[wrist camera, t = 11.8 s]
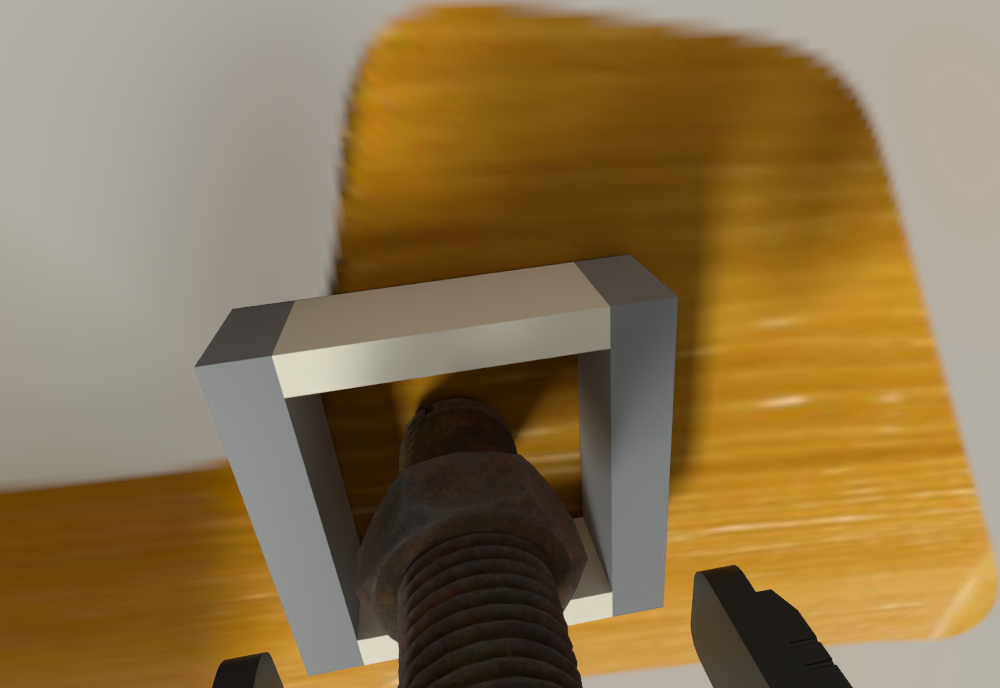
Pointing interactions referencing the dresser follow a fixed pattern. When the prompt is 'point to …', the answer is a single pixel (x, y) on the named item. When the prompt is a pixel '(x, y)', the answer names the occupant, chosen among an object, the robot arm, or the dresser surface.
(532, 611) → the bolt
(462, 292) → the grey white square frame
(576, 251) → the dresser surface
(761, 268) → the dresser surface
